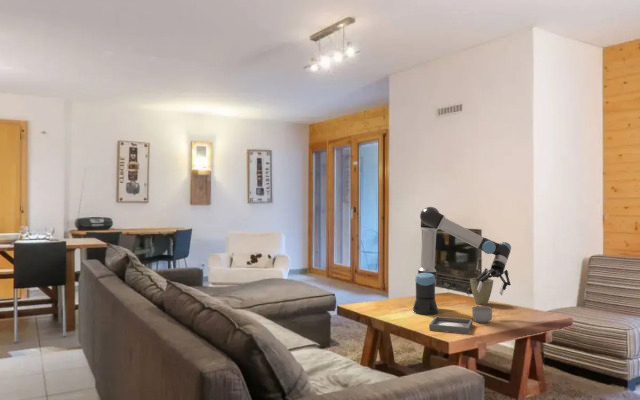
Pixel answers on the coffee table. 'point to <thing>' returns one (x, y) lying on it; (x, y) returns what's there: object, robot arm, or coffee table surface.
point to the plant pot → (481, 290)
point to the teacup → (482, 314)
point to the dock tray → (451, 324)
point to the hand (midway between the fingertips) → (489, 292)
